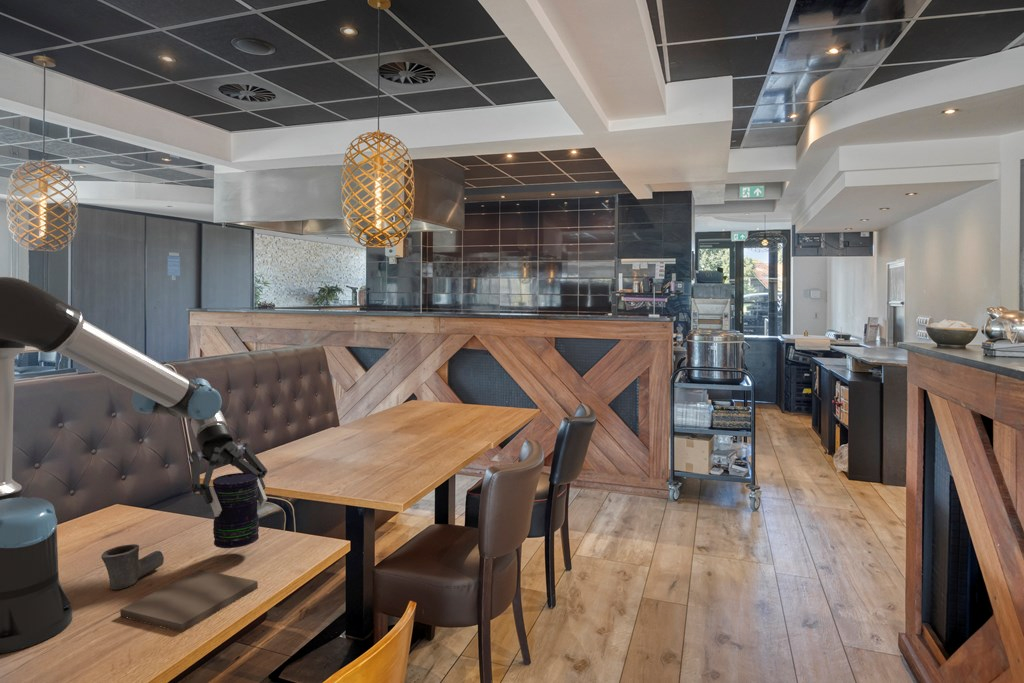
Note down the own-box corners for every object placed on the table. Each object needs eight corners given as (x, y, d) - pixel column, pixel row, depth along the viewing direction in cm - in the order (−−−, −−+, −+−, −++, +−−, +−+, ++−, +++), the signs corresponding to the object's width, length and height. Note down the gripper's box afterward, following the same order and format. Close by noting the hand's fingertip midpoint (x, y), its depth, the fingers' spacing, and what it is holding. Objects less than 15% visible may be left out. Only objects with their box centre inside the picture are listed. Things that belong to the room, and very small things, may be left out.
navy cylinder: (266, 539, 139) (265, 477, 139) (224, 552, 132) (222, 486, 131) (248, 529, 146) (247, 470, 145) (206, 540, 139) (205, 478, 138)
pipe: (169, 570, 132) (168, 535, 132) (116, 596, 120) (114, 558, 119) (148, 566, 134) (147, 532, 133) (94, 592, 122) (92, 554, 121)
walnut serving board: (182, 632, 106) (181, 624, 106) (120, 616, 112) (120, 609, 112) (257, 588, 123) (257, 581, 123) (200, 576, 128) (200, 569, 128)
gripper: (251, 434, 157) (282, 505, 147) (158, 448, 140) (186, 529, 130) (260, 417, 153) (292, 488, 143) (166, 429, 136) (195, 511, 126)
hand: (241, 507), depth 137 cm, fingers closed on navy cylinder, 10 cm apart
